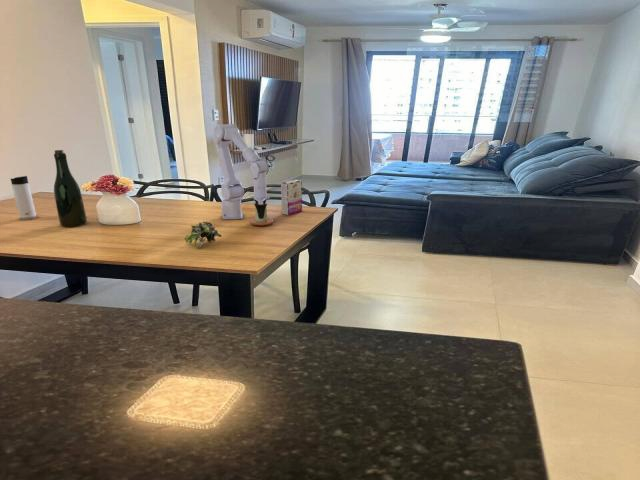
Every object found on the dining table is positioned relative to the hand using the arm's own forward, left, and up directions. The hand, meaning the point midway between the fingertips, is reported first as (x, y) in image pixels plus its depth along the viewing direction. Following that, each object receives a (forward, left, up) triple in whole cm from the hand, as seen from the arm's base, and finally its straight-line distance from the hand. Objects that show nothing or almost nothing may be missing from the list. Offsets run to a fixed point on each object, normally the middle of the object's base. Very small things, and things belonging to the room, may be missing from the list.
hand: (261, 216), depth 177 cm
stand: (0, 0, -4) cm, 4 cm away
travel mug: (-109, +21, -4) cm, 111 cm away
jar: (0, 0, -2) cm, 2 cm away
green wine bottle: (-84, +8, -4) cm, 84 cm away
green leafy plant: (-23, -27, -4) cm, 36 cm away
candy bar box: (+16, +19, -4) cm, 25 cm away
